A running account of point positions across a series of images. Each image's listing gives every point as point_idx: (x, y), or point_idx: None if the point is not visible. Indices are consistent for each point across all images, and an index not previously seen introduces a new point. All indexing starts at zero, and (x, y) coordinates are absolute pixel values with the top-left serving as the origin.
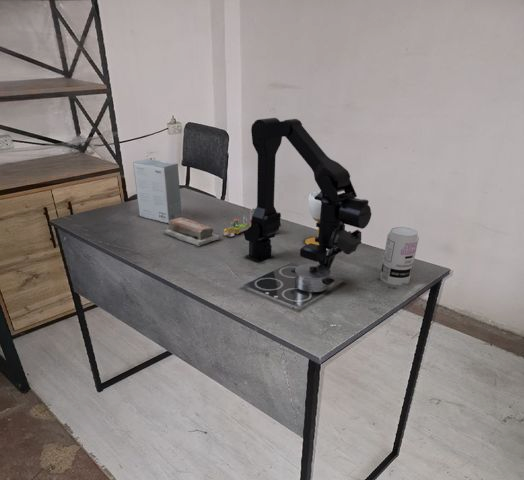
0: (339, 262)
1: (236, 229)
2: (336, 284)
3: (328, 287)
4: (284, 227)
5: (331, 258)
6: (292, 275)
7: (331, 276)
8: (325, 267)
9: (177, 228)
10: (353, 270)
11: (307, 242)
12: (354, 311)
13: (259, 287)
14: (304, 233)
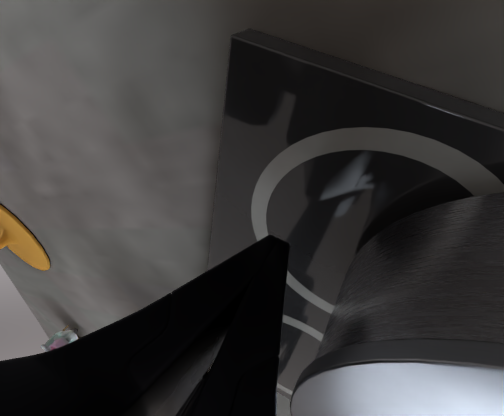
0: (37, 144)
1: None
2: (370, 97)
3: (501, 173)
4: (40, 303)
5: (154, 387)
6: None
7: (222, 171)
8: (351, 385)
9: None
10: (28, 35)
11: (41, 265)
12: None
13: None
14: (17, 265)
